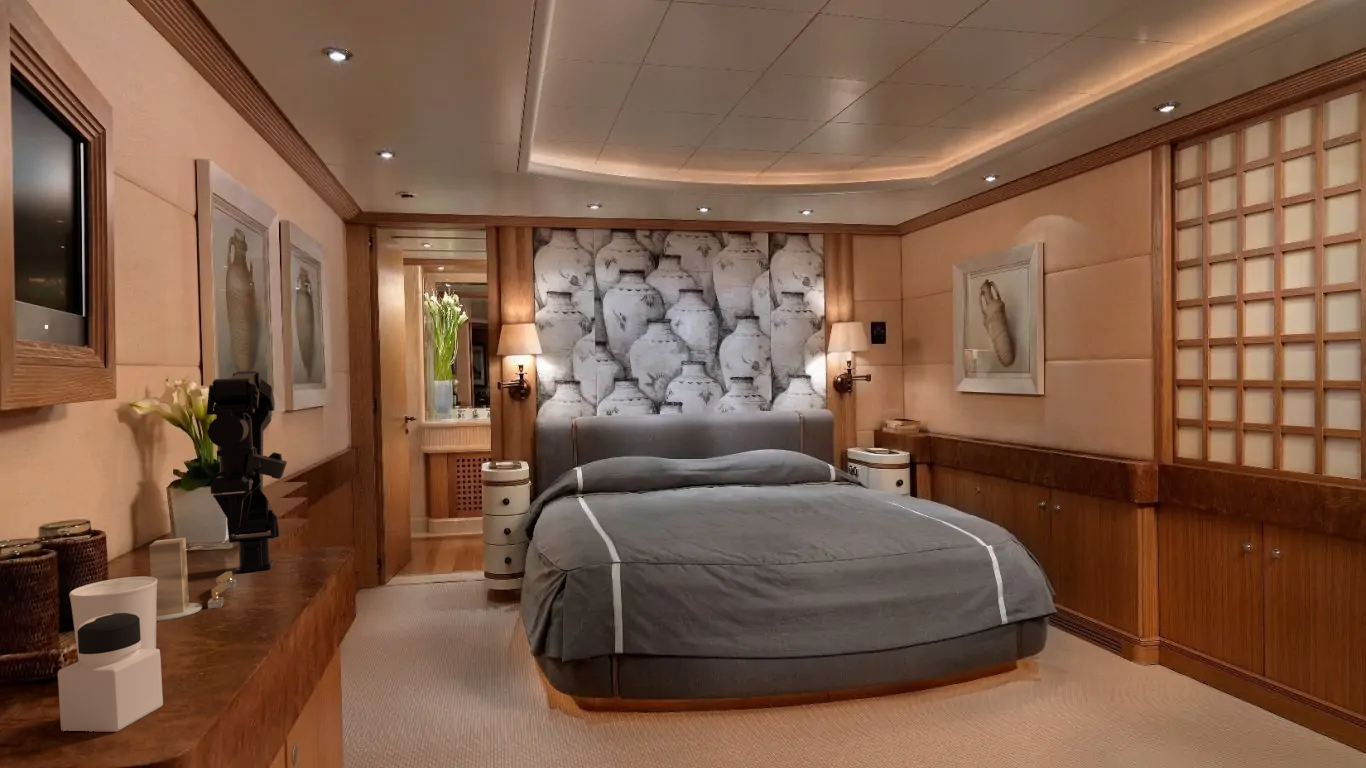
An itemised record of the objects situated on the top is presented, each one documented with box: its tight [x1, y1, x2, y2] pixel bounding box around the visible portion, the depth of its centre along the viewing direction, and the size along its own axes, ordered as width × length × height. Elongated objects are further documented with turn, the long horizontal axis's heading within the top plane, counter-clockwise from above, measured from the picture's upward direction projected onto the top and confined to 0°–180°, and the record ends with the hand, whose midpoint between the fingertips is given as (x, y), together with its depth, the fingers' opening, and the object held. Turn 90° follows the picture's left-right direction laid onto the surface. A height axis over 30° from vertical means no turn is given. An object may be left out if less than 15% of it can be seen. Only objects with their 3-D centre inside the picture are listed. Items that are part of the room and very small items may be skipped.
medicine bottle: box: [57, 613, 164, 733], centre depth 93 cm, size 7×7×12 cm
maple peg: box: [149, 537, 190, 616], centre depth 137 cm, size 4×4×12 cm
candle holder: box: [68, 575, 158, 662], centre depth 109 cm, size 10×10×12 cm
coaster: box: [156, 602, 203, 622], centre depth 137 cm, size 9×9×1 cm
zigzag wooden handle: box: [207, 570, 237, 610], centre depth 147 cm, size 16×3×3 cm, turn 21°
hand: (240, 524), depth 153 cm, fingers open, 9 cm apart
